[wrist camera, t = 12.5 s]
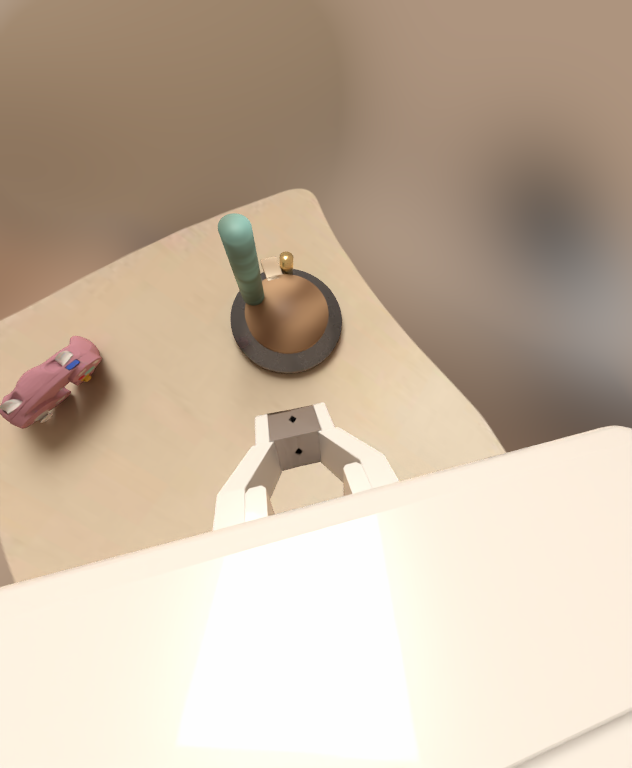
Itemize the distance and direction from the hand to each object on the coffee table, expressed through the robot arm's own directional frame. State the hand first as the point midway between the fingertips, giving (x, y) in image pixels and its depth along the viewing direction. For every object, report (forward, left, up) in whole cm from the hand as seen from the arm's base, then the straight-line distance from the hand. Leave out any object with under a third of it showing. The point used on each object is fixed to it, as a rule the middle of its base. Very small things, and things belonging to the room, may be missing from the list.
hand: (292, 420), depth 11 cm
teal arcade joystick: (+14, +1, -17) cm, 22 cm away
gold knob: (+20, +1, -19) cm, 28 cm away
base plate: (+13, +1, -19) cm, 23 cm away
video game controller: (+4, +25, -19) cm, 32 cm away
